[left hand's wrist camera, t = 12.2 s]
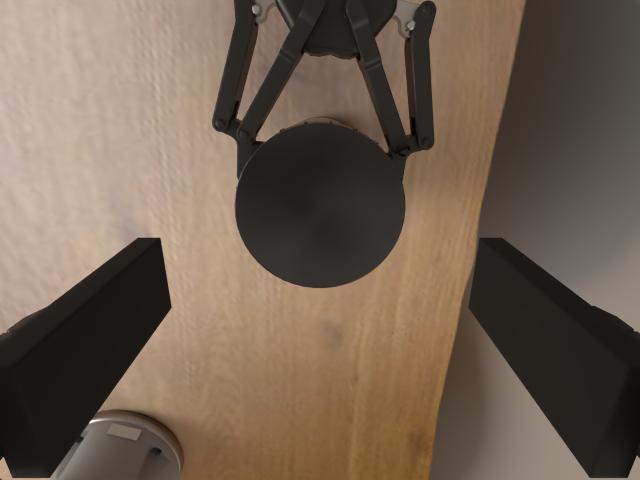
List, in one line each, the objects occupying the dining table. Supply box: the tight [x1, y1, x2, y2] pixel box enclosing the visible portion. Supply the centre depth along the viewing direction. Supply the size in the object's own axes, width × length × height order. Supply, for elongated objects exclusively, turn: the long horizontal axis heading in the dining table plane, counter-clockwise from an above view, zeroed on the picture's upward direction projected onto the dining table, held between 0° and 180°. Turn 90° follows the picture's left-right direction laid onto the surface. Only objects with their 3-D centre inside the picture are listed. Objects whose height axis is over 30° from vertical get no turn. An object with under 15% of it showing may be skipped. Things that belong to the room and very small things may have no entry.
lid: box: [235, 120, 405, 288], centre depth 21 cm, size 9×9×2 cm
